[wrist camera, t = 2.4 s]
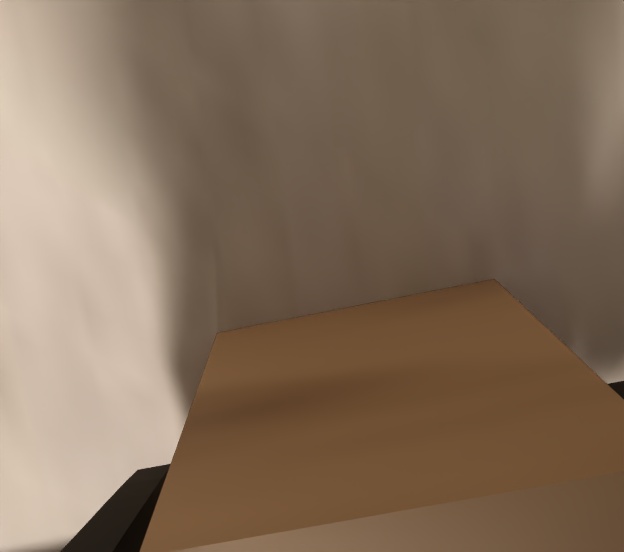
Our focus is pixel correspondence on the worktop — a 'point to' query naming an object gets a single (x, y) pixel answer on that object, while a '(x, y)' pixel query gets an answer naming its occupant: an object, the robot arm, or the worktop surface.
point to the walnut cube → (397, 436)
